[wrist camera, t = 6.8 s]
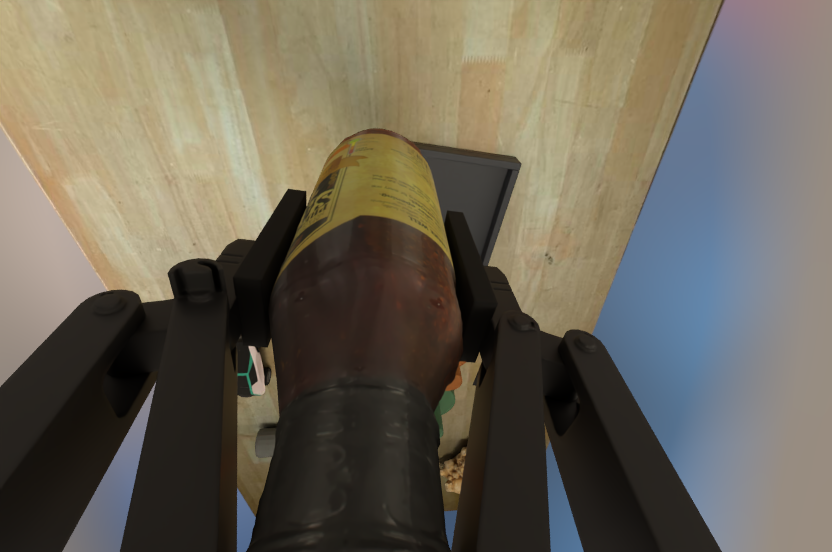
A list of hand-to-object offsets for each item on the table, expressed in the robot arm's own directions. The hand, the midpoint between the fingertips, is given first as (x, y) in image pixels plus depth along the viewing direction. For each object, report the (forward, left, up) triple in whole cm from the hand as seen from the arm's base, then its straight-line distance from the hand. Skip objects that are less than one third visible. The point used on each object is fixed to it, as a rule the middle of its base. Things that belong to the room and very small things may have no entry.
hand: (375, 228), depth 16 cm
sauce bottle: (0, 0, -6) cm, 6 cm away
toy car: (+38, -18, -26) cm, 49 cm away
